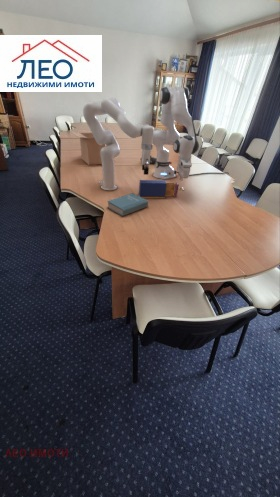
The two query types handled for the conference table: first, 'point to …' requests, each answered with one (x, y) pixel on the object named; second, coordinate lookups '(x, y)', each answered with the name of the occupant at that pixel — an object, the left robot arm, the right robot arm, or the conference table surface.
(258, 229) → the conference table surface
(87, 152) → the box
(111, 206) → the book
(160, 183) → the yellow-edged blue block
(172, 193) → the drawer
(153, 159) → the laser sight
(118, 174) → the conference table surface
